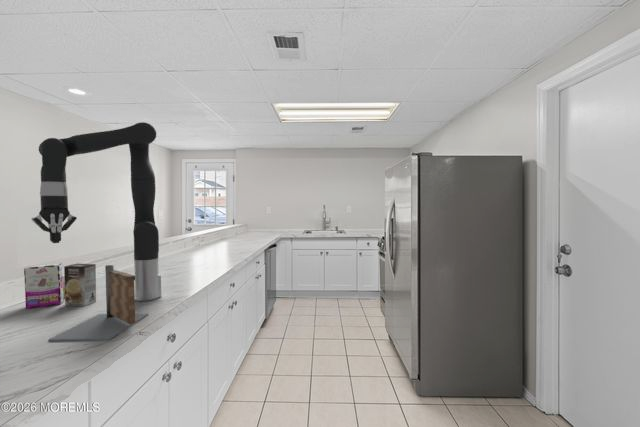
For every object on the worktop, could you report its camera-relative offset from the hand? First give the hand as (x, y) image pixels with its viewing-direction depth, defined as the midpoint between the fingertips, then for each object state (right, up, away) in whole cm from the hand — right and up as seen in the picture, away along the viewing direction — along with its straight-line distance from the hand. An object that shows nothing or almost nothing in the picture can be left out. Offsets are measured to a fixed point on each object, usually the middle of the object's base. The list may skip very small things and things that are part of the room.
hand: (55, 242), depth 115 cm
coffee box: (-3, -27, +17) cm, 32 cm away
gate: (+29, -25, -7) cm, 39 cm away
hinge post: (+21, -27, -1) cm, 34 cm away
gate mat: (+24, -27, -9) cm, 37 cm away
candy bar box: (-17, -27, +15) cm, 35 cm away
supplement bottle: (-18, -27, +28) cm, 42 cm away
